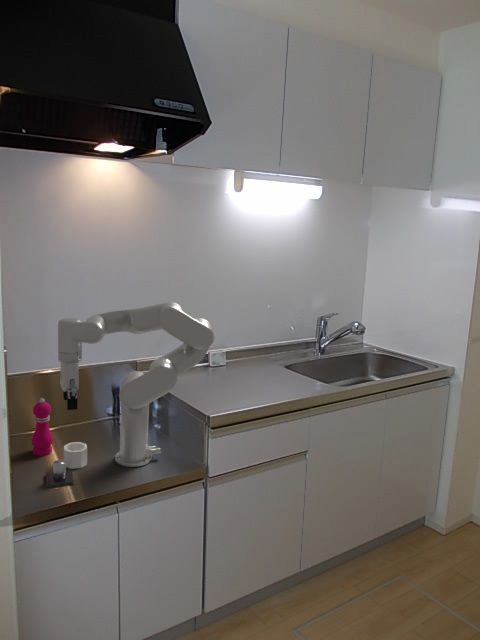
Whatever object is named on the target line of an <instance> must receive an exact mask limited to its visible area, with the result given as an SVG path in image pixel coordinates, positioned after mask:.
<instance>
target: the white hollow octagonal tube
mask: <svg viewBox="0 0 480 640" xmlns="http://www.w3.org/2000/svg"><path fill="white" fill-rule="evenodd" d="M63 460H64V461H66V469H70V470H72V469H81V468H83V467H85V466H87V465H88V445H87V444H86V442H85V443H84V442H80V441H77V442H76V441H75V442H69V443H67V444H64V445H63Z"/></svg>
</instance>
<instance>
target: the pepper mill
mask: <svg viewBox="0 0 480 640" xmlns="http://www.w3.org/2000/svg"><path fill="white" fill-rule="evenodd" d="M32 408H33V409H32V413H33V415H34V421H35V429H34V432H33V434H32V436H31V441H30V443H31V445H32V446H33V447H32V453H33V455H34V456H37V457H38V456H39V457H43V456H44V457H45V456H48V455H50V454H51V453H52V452H53V446H52V445H53V443H54V436H53V434H52V431H51V429H50V426H49V421H50V419H51V418H50V414H51V412H52V406H51V405H50V403H49V402H46V400H45V398H44V397H41V398H40V399H39V402H37V403H36V404H34V406H33V407H32Z"/></svg>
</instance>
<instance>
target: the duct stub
mask: <svg viewBox="0 0 480 640" xmlns="http://www.w3.org/2000/svg"><path fill="white" fill-rule="evenodd" d="M52 468H53V469H52V471H45V477H46V478H45V479H46V480H45V481H46V482H45V483H46V484H45V485H46V488H52V487H53V488H54V487H62V486H63V487H64V486H72V485H73V486H74V475H73V470H72V469H69V470H67V467H66V461H64V459H57V460H54V461H53V465H52Z"/></svg>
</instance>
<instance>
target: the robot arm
mask: <svg viewBox="0 0 480 640" xmlns="http://www.w3.org/2000/svg"><path fill="white" fill-rule="evenodd" d="M160 330H163V331H164V332H165V333H167V334H169V335H171V336H172V337H173V338H175V339H177V340H178V341H179V342H182V344H180V345H179V346H177V347H176V348H175V349H173V350H171V351H170V352H168V353H165V354H164V355H162V356H159V357H158V358H156V359H154V360H153V361H152V362H151V364H150V366H149V368H148V369H149V370H147V371H146V372H142V371H139V370H133V371H130V372H128V373H127V374H125V375H124V376H123V378H122V380H121V383H120V386H119V387H120V388H119V393H118V394H119V396H118V397H119V401H120V421H119V422H120V423H119V424H120V427H119V428H120V432H119V434H120V436H119V451H118V452H117V453H116V454H115V456H114V461H115V462H116V463H117V464H118V465H121V466H123V467H128V468H129V467H130V468H135V467H142V466H145V465H147V464H149V463H150V462H151V461H152V459H153V458H152V457H153V455H154V454H155V455H157V454H162V449H161V447H157V445H153V446H150V445H149V417H150V415H149V414H150V413H149V412H150V404H151V403H153V402H154V401H156V400H158V399H159V398H161V397H163V396H165V395H166V394H168V393H169V392H171V391H172V390H173V388H174V387H176V385H177V382H178V377H179V376H180V375H182V374H184V373H185V372H187V371H189V370H190V369H191V368H194V367H195V366H196V365H198V364H199V363H200V362H201V361H202V360H203V358H204V357H206V355H207V353H208V352H209V350H210V347H211V346H212V345H213V344H214V341H215V333H214V330H213V327H212V325H211V323H210V321H208V320H207V319H205V318H201V317H199V318H193V317H192V316H190V315H189V314H187V313H185V312H184V310H183V308H182V307H181V305H180V304H178V303H177V302H173V301H167V302H163V303H158V304H153V305H148V306H144V307H143V306H142V307H138V308H133V309H124V310H115V311H108V312H103V313H99V314H94V315H91V316H90V317H89V318H87V319H86V321H82V320H80V319H78V318H77V317H76V318H74V317H66V318H65V317H64V318H62V319H59V321H58V323H57V358H58V359H57V360H58V362H60V371H59V372H60V375H59V378H60V379H59V383H60V387H61V389H62V391H63V401H66V408H67V409H66V410H67V411H73V410H77V409H78V392H77V391H78V390H79V382H80V380H79V379H80V377H79V376H80V374H79V368H80V367H79V362H81V361H82V360H83V350H82V348H83V344H84V343H85V344H98V343H100V342H101V341H102V340H103V338H104V336H106V335H109V334H114V333H115V334H116V333H122V332H123V333H125V332H127V333H132V334H133V335H134V334H135V335H141V334H145V333H150V332H151V333H152V332H155V331H160ZM174 389H175V388H174Z"/></svg>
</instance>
